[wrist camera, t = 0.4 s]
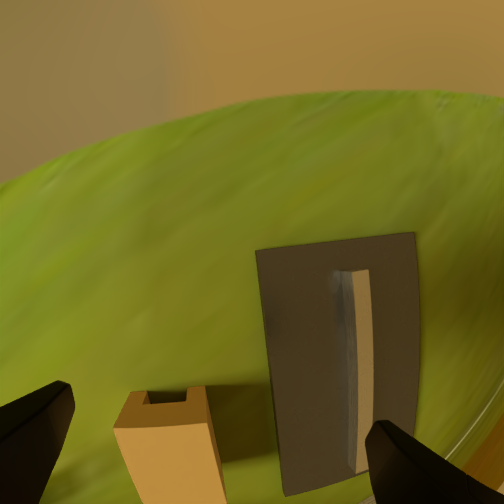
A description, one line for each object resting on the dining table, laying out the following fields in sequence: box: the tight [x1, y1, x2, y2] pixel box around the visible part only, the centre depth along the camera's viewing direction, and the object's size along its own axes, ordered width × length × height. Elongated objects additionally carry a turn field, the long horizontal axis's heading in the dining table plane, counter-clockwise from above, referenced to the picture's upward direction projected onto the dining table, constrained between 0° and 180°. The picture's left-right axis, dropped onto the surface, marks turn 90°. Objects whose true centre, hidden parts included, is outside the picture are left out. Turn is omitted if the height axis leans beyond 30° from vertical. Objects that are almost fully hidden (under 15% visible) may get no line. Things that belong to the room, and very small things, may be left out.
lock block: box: [113, 386, 227, 504], centre depth 16 cm, size 7×5×5 cm
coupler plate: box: [255, 232, 420, 497], centre depth 20 cm, size 20×12×2 cm, turn 7°
